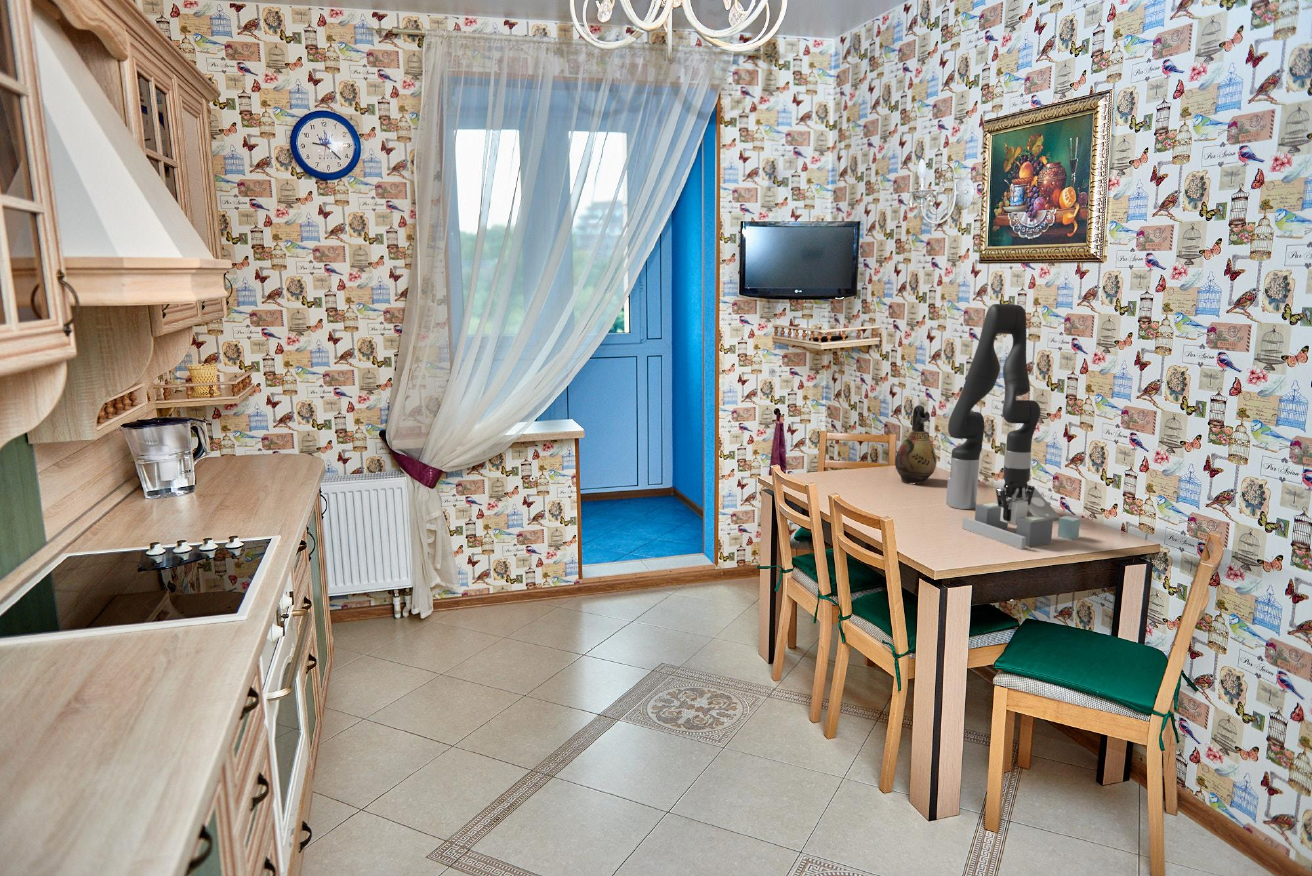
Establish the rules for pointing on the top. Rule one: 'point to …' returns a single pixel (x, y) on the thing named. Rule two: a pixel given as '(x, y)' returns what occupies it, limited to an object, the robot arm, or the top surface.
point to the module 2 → (1068, 527)
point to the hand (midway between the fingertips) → (1013, 519)
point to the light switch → (1041, 506)
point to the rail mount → (990, 526)
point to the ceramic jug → (916, 452)
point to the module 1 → (1016, 511)
